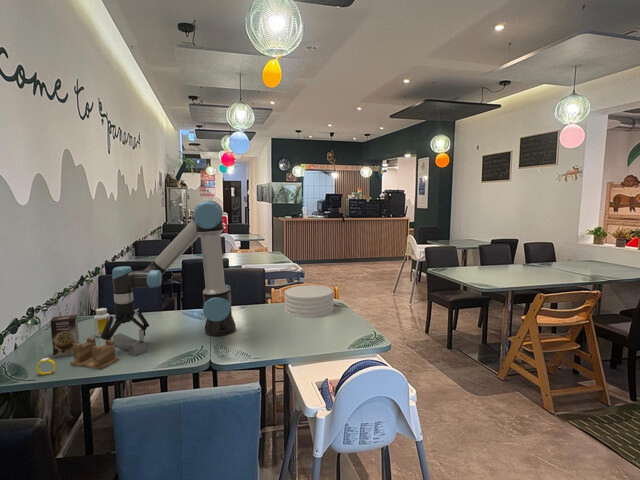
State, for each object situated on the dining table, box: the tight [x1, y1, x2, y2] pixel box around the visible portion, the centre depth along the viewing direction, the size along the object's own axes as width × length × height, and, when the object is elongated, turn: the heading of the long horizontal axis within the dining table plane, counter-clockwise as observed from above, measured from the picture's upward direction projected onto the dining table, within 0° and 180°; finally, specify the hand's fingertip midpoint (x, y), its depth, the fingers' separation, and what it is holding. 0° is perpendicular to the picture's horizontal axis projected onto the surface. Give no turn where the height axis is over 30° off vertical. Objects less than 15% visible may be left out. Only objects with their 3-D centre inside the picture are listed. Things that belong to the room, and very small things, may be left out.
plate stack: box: [284, 284, 334, 319], centre depth 225 cm, size 28×28×12 cm
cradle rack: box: [70, 336, 121, 370], centre depth 159 cm, size 16×9×8 cm, turn 73°
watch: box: [35, 357, 57, 376], centre depth 149 cm, size 6×3×6 cm, turn 108°
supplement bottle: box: [93, 307, 112, 338], centre depth 190 cm, size 7×7×13 cm
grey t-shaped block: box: [112, 332, 147, 357], centre depth 172 cm, size 20×6×4 cm, turn 53°
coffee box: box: [50, 314, 80, 358], centre depth 168 cm, size 9×6×16 cm
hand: (127, 348), depth 173 cm, fingers open, 13 cm apart
